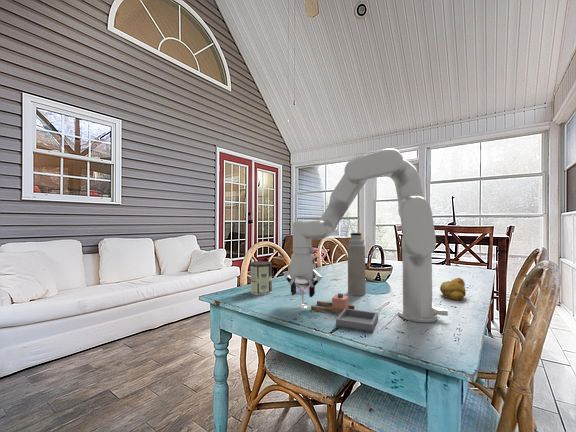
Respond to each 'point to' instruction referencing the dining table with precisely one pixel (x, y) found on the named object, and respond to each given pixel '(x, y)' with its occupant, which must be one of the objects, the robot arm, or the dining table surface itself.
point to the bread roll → (453, 289)
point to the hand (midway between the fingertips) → (302, 294)
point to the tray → (357, 320)
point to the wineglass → (301, 284)
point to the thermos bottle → (356, 265)
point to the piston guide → (328, 310)
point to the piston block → (340, 302)
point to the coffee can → (261, 277)
